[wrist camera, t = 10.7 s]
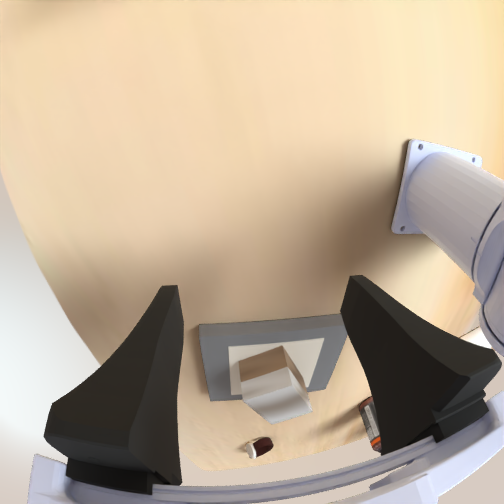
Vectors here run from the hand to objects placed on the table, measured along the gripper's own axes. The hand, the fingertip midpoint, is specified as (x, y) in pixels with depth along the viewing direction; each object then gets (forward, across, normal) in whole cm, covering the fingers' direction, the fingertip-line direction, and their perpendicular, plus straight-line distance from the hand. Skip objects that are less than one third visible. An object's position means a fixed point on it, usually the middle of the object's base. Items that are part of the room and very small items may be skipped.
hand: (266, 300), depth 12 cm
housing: (+8, -3, +17) cm, 19 cm away
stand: (+9, -3, +17) cm, 20 cm away
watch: (+10, -3, +45) cm, 46 cm away
